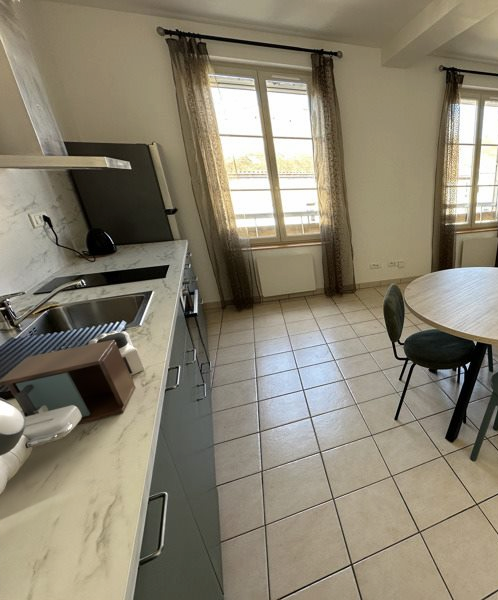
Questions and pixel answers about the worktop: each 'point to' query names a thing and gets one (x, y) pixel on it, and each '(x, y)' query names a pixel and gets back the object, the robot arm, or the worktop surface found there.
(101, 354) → the cupboard
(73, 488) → the worktop surface
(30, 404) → the sliding door
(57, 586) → the worktop surface
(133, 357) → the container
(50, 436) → the robot arm
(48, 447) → the worktop surface
